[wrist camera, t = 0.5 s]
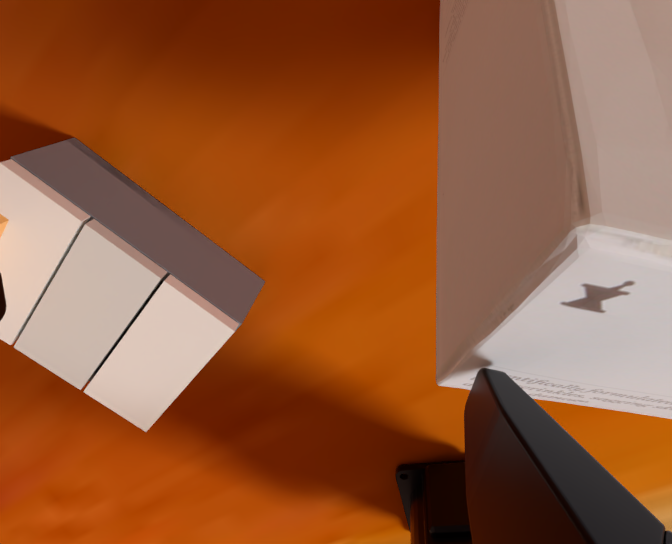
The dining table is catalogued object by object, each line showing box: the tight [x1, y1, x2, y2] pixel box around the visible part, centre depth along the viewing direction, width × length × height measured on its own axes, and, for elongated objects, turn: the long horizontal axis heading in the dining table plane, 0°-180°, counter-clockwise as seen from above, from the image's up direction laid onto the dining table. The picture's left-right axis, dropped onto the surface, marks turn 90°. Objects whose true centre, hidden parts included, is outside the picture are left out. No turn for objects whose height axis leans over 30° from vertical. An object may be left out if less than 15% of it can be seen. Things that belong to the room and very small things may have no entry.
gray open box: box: [10, 138, 265, 422], centre depth 23 cm, size 11×8×4 cm
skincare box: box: [436, 0, 672, 419], centre depth 11 cm, size 8×6×15 cm
